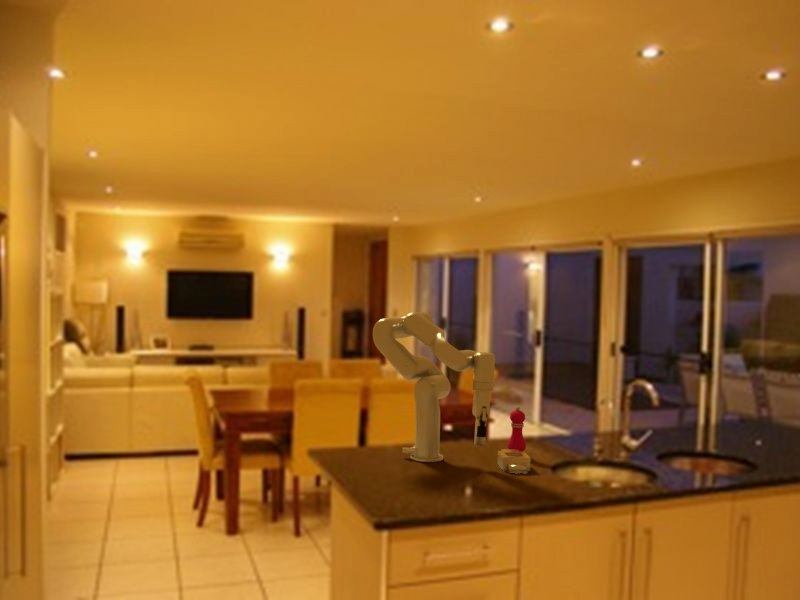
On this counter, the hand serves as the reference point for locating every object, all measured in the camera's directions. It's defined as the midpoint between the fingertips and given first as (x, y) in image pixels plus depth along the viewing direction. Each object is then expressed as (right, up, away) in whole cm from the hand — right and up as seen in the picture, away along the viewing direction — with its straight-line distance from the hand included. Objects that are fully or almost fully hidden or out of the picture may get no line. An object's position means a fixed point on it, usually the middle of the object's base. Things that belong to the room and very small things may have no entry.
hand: (480, 435), depth 253 cm
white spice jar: (0, -3, 0) cm, 3 cm away
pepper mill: (+16, -12, +18) cm, 27 cm away
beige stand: (+12, -12, 0) cm, 17 cm away
